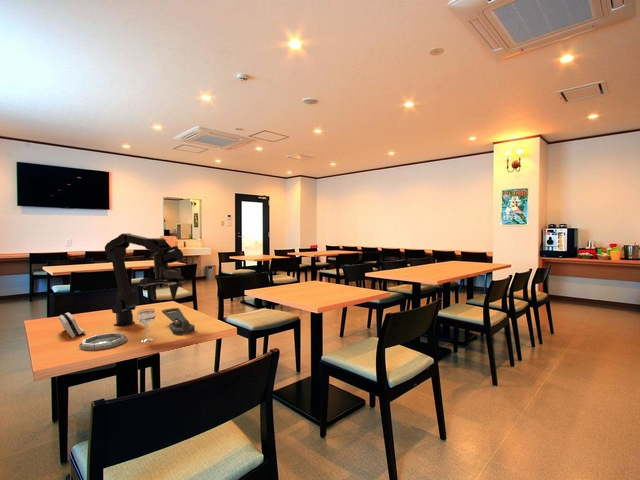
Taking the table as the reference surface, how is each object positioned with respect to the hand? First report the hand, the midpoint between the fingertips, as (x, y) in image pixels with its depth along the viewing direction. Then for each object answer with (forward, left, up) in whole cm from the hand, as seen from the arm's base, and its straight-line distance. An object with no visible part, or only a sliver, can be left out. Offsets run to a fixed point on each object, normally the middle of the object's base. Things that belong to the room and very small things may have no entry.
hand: (164, 300), depth 152 cm
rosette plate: (-13, -20, -13) cm, 27 cm away
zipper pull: (+2, +5, -14) cm, 15 cm away
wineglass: (+1, -13, -14) cm, 19 cm away
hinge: (-39, -11, -14) cm, 43 cm away
